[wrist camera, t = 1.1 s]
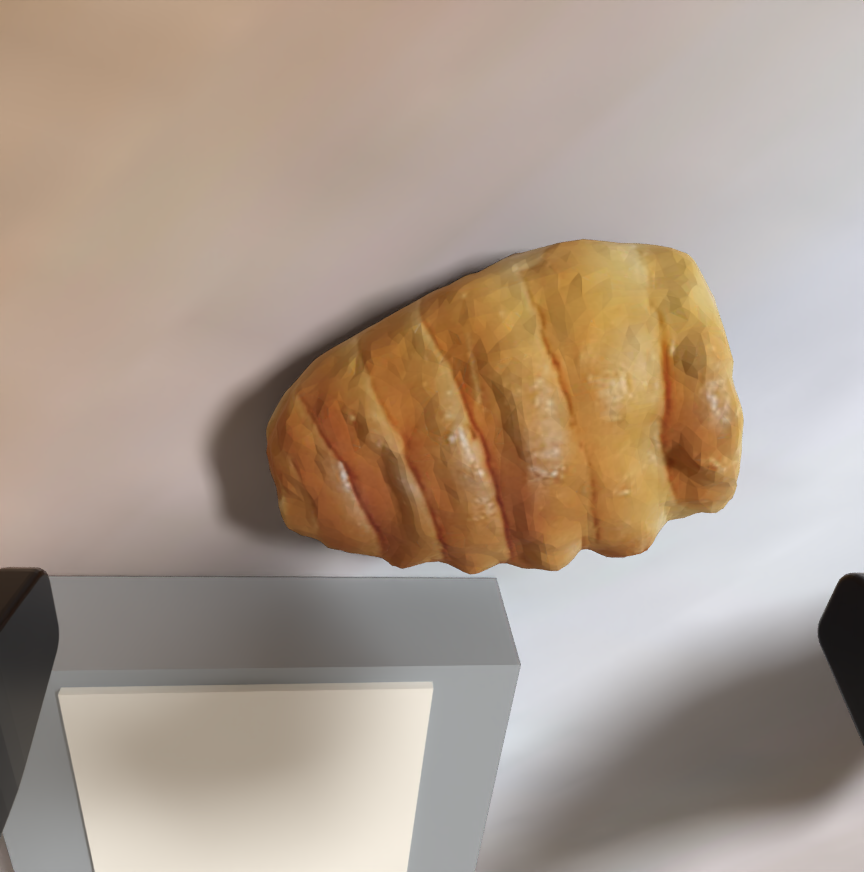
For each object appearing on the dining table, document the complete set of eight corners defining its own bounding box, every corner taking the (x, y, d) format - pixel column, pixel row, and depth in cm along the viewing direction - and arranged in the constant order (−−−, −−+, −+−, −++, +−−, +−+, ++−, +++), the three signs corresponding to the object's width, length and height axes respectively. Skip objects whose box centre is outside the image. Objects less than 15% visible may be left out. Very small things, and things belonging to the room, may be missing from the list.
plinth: (496, 578, 20) (522, 671, 17) (446, 848, 25) (459, 950, 23) (9, 575, 18) (-51, 679, 15) (76, 867, 24) (41, 980, 21)
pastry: (325, 559, 18) (321, 683, 15) (218, 316, 15) (183, 411, 12) (695, 463, 18) (772, 570, 15) (678, 189, 14) (775, 250, 11)
